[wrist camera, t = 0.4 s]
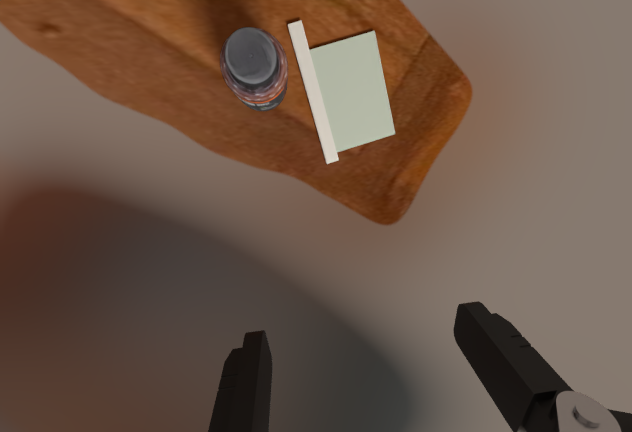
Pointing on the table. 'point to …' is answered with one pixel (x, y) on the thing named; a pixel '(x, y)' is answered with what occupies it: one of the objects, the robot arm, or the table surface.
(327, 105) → the white flat t-shaped panel
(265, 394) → the robot arm
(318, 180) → the table surface
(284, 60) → the supplement bottle
